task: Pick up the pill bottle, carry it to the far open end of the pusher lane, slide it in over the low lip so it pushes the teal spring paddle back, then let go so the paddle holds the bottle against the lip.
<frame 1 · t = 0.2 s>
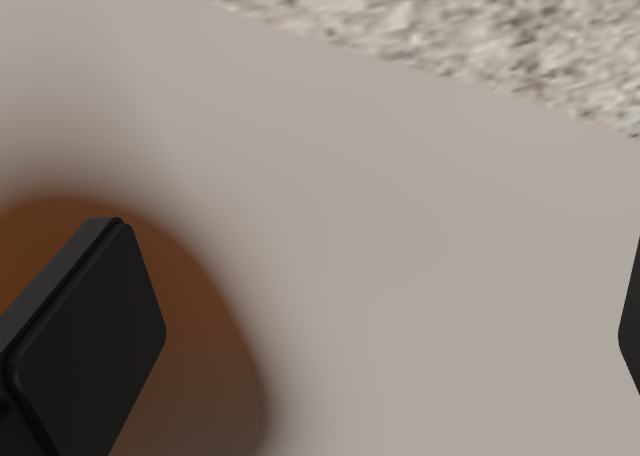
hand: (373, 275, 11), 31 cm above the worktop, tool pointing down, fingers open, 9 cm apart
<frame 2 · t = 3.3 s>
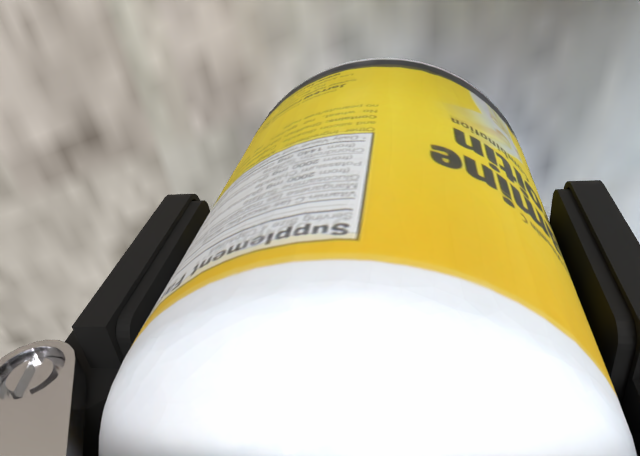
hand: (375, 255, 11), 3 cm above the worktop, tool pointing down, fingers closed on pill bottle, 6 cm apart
pill bottle: (382, 177, 14), on the worktop, touching gripper
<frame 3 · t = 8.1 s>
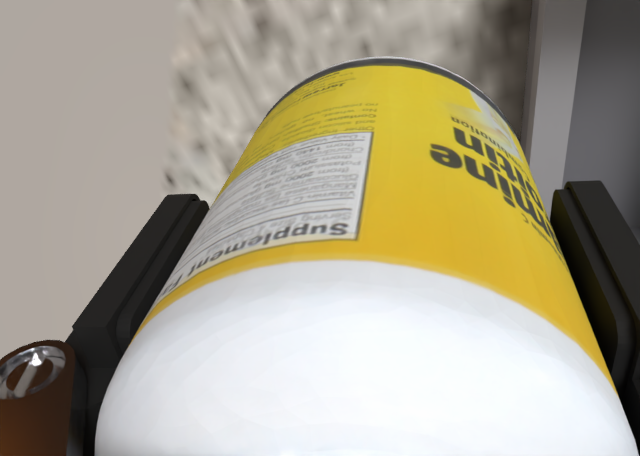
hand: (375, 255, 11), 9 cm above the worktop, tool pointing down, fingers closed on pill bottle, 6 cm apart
pill bottle: (382, 177, 14), point 5 cm above the worktop, touching gripper
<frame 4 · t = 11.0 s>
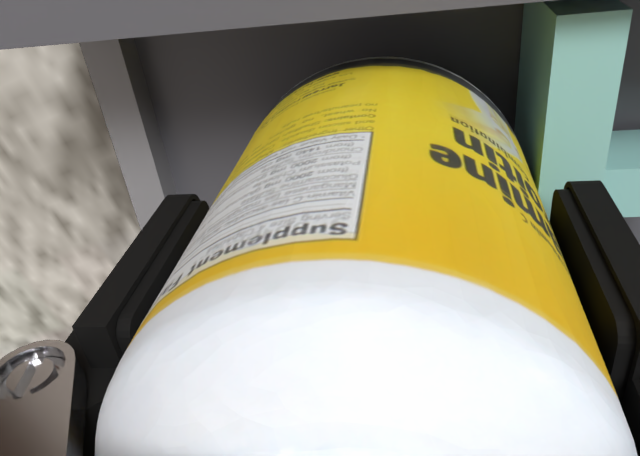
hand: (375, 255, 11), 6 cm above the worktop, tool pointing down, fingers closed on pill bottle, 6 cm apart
pill bottle: (381, 177, 14), point 2 cm above the worktop, touching gripper, pusher paddle
pusher paddle: (606, 183, 13), point 3 cm above the worktop, slide at 5.9 cm, touching pill bottle
lane: (612, 131, 15), on the worktop
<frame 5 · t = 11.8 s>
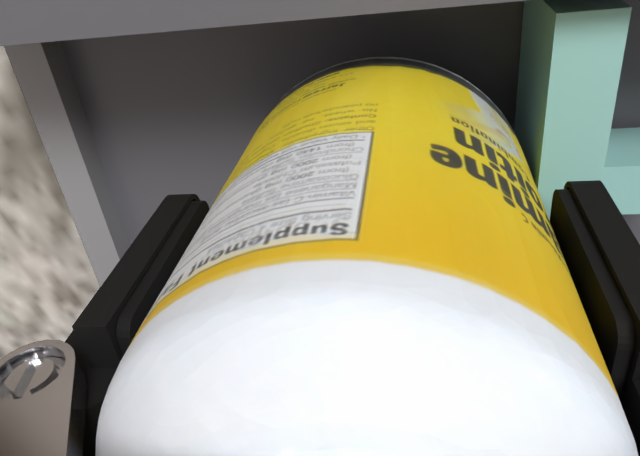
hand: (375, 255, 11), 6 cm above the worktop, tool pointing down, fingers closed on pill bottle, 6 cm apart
pill bottle: (382, 177, 14), point 2 cm above the worktop, touching gripper, pusher paddle
pusher paddle: (605, 180, 13), point 3 cm above the worktop, slide at 8.0 cm, touching pill bottle
lane: (529, 133, 15), on the worktop
when the fingers open (6 cm above the worktop, at t = 12.9 s): pill bottle drops 2 cm, resting on lane, pusher paddle.
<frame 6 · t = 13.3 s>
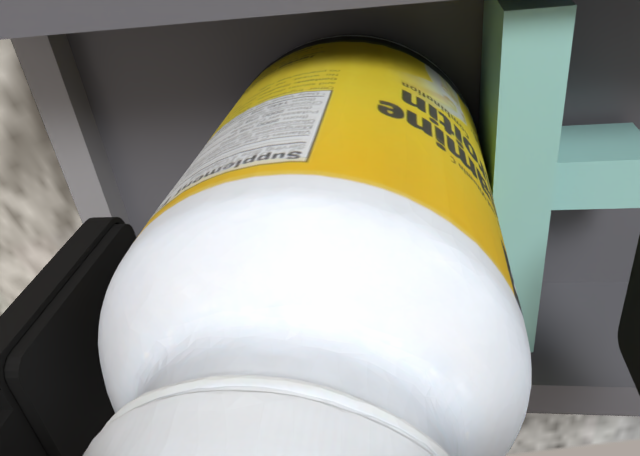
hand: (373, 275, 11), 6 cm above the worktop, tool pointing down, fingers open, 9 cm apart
pill bottle: (353, 146, 15), point 1 cm above the worktop, touching lane, pusher paddle
pusher paddle: (564, 176, 13), point 3 cm above the worktop, slide at 7.0 cm, touching pill bottle
lane: (533, 128, 15), on the worktop
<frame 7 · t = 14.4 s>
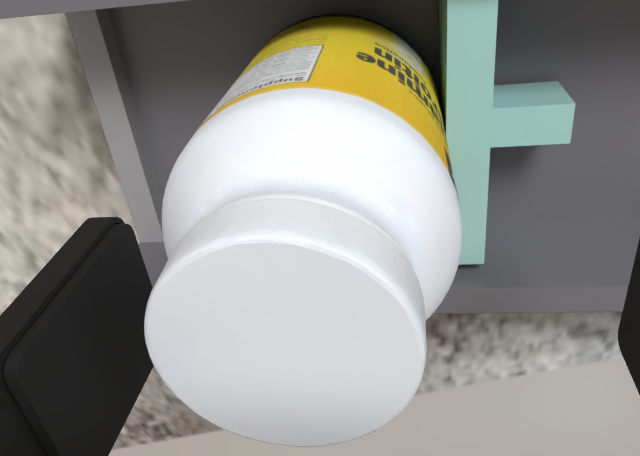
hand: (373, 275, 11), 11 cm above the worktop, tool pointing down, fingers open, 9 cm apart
pill bottle: (340, 105, 19), point 1 cm above the worktop, touching lane, pusher paddle
pusher paddle: (504, 121, 17), point 3 cm above the worktop, slide at 7.0 cm, touching pill bottle
lane: (485, 90, 19), on the worktop
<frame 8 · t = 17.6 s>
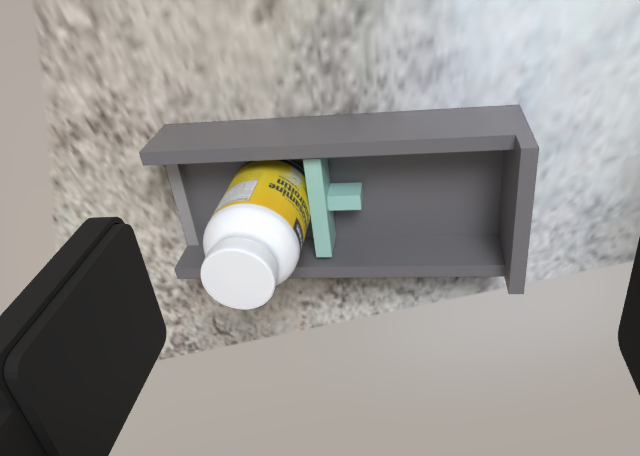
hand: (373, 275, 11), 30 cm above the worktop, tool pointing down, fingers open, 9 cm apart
pill bottle: (275, 188, 44), point 1 cm above the worktop, touching lane, pusher paddle
pusher paddle: (336, 199, 42), point 3 cm above the worktop, slide at 6.9 cm, touching pill bottle
lane: (339, 182, 44), on the worktop
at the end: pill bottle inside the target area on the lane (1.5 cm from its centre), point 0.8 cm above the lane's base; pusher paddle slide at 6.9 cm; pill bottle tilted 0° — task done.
